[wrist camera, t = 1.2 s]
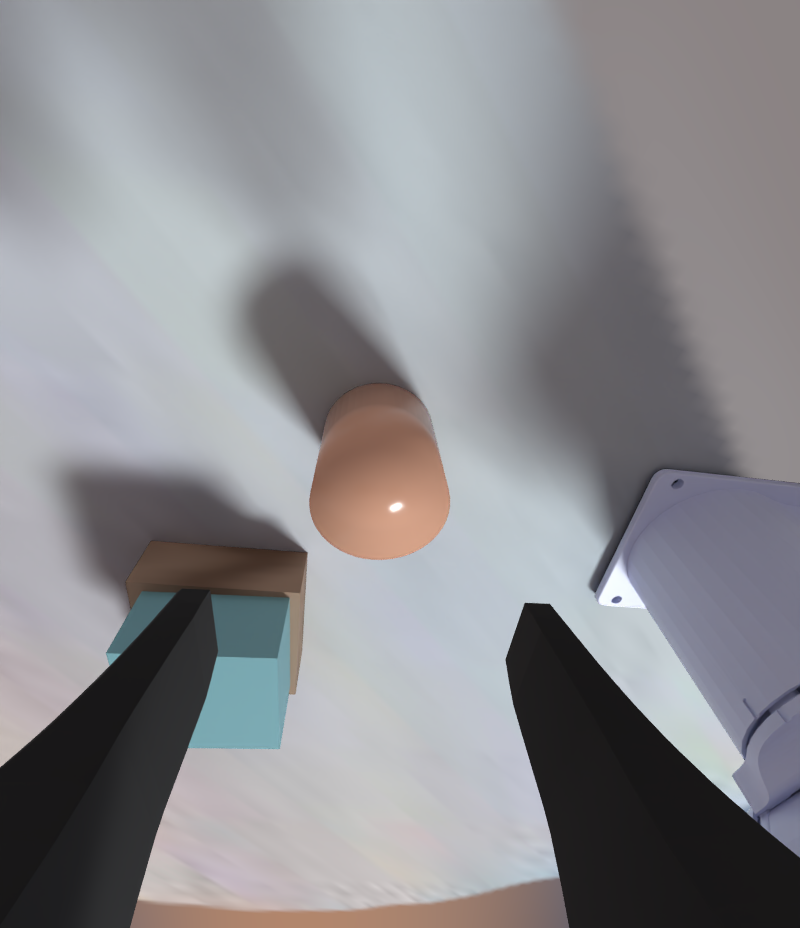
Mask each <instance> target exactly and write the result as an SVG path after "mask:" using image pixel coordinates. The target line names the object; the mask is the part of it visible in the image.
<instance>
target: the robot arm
mask: <svg viewBox="0 0 800 928" xmlns="http://www.w3.org/2000/svg"><path fill="white" fill-rule="evenodd" d="M677 479H678V481H677V482H676V483H674V484H672V483H673V482H674V481H675V480H677ZM595 598H596V600H597V602H598V603H599V604H600V605H605V606H619V607H633V608H647V610H648V611H649V613H650V615H651V616H652V618H653V619H654V621H655V622H656V624H657V625H658V627H659V629H660V630H661V632H662V633H663V635H664V636H665V638H666V639H667V641H668V642H669V644H670V646H671V647H672V649H673V650H674V652H675V653H676V655H677V656H678V658H679V659H680V661H681V663H682V664H683V666H684V667H685V669H686V670H687V672H688V673H689V675H690V676H691V678H692V680H693V681H694V683H695V684H696V686H697V687H698V689H699V690H700V692H701V694H702V695H703V697H704V698H705V700H706V701H707V703H708V704H709V706H710V707H711V709H712V711H713V712H714V714H715V715H716V717H717V718H718V720H719V721H720V723H721V724H722V726H723V728H724V729H725V731H726V732H727V734H728V735H729V737H730V738H731V740H732V741H733V743H734V745H735V746H736V748H737V749H738V751H739V752H740V754H741V755H742V757H743V759H744V760H745V761H744V763H743V764H742V766H741V767H740V768H739V769H738V770H737V771H735V772H734V773H733V775H732V777H733V778H734V780H735V782H736V783H737V785H738V787H739V788H740V790H741V792H742V793H743V795H744V796H745V798H746V800H747V801H748V803H749V805H750V806H751V807H750V808H749V810H748V811H747V813H746V812H745V811H744V810H743V809H741V808H740V807H739V806H738V805H737V804H736V803H734V802H733V801H732V800H731V799H730V798H729V797H728V796H726V795H725V794H724V793H723V792H722V791H721V790H720V789H719V788H718V787H716V786H715V785H714V784H713V783H712V782H711V781H710V780H709V779H708V778H707V777H706V776H705V775H704V774H703V773H701V772H700V771H699V770H698V769H697V768H696V767H695V766H694V765H693V764H692V763H691V762H690V761H689V760H688V759H687V758H686V757H685V756H684V755H683V754H682V753H681V752H679V751H678V750H677V749H676V748H675V747H674V746H673V745H672V744H671V743H670V742H669V741H668V740H667V739H666V738H665V737H664V736H663V735H662V733H661V732H660V731H659V730H658V729H657V728H656V727H655V726H654V725H653V724H652V723H651V722H650V721H649V720H648V719H647V718H646V717H645V715H644V714H643V713H642V712H641V711H640V710H639V709H638V708H637V707H636V706H635V705H634V704H633V703H632V701H631V700H630V699H629V698H628V697H627V696H626V695H625V694H624V693H623V691H622V690H621V689H620V688H619V687H618V686H617V684H616V683H615V682H614V681H613V680H612V679H611V678H610V676H609V675H608V674H607V673H606V672H605V671H604V669H603V668H602V667H601V666H600V665H599V663H598V662H597V661H596V660H595V659H594V658H593V656H592V655H591V654H590V653H589V651H588V650H587V649H586V648H585V647H584V645H583V644H582V643H581V642H580V640H579V639H578V638H577V637H576V636H575V634H574V633H573V632H572V631H571V629H570V628H569V627H568V626H567V624H566V623H565V622H564V621H563V620H562V618H561V617H560V616H559V615H558V613H557V612H556V611H555V610H554V609H553V607H552V606H551V605H550V604H538V603H525V604H524V607H523V610H522V613H521V616H520V619H519V622H518V624H517V627H516V630H515V633H514V636H513V639H512V642H511V645H510V648H509V651H508V654H507V657H506V665H507V671H508V678H509V684H510V689H511V694H512V700H513V705H514V708H515V712H516V715H517V719H518V722H519V726H520V729H521V733H522V736H523V739H524V743H525V746H526V750H527V753H528V756H529V760H530V763H531V766H532V770H533V773H534V776H535V780H536V783H537V787H538V790H539V793H540V797H541V800H542V803H543V807H544V810H545V814H546V818H547V822H548V826H549V830H550V833H551V838H552V843H553V848H554V853H555V857H556V862H557V867H558V872H559V877H560V881H561V886H562V891H563V896H564V901H565V907H566V912H567V918H568V923H569V928H800V483H793V482H784V481H775V480H765V479H756V478H747V477H737V476H728V475H719V474H709V473H700V472H691V471H681V470H672V469H663V470H660V471H658V472H657V473H655V474H654V476H653V477H652V479H651V481H650V483H649V485H648V487H647V489H646V491H645V493H644V495H643V497H642V499H641V501H640V503H639V505H638V507H637V509H636V511H635V513H634V515H633V517H632V519H631V521H630V524H629V526H628V528H627V530H626V532H625V534H624V536H623V538H622V540H621V542H620V544H619V546H618V548H617V550H616V552H615V554H614V556H613V558H612V560H611V562H610V564H609V566H608V568H607V570H606V572H605V575H604V577H603V579H602V581H601V583H600V585H599V587H598V589H597V591H596V593H595ZM217 654H218V645H217V638H216V630H215V622H214V615H213V607H212V600H211V592H210V590H205V589H181V590H179V591H178V592H177V593H176V594H175V595H174V596H173V597H172V599H171V600H170V601H169V602H168V603H167V604H166V605H165V607H164V608H163V609H162V610H161V611H160V612H159V613H158V614H157V616H156V617H155V618H154V619H153V620H152V621H151V622H150V623H149V625H148V626H147V627H146V628H145V629H144V630H143V631H142V632H141V633H140V634H139V636H138V637H137V638H136V639H135V640H134V641H133V642H132V643H131V644H130V645H129V646H128V647H127V648H126V649H125V650H124V651H123V653H122V654H121V655H120V656H119V657H118V658H117V659H116V660H115V661H114V662H113V663H112V664H111V665H110V666H109V667H108V668H107V669H106V670H105V671H104V672H103V673H102V674H101V675H100V676H99V677H98V678H97V679H96V680H95V681H94V682H93V683H92V684H91V685H90V686H89V687H88V688H87V689H86V690H85V691H84V692H83V693H82V694H81V695H80V696H79V697H78V698H77V699H76V700H75V701H74V702H73V703H72V704H71V705H69V706H68V707H67V708H66V709H65V710H64V711H63V712H62V713H61V714H60V715H59V716H58V717H57V718H56V719H55V720H54V721H53V722H52V723H50V724H49V725H48V726H47V727H46V728H45V729H44V730H43V731H42V732H41V733H39V734H38V735H37V736H36V737H35V738H34V739H33V740H32V741H30V742H29V743H28V744H27V745H26V746H25V747H24V748H22V749H21V750H20V751H19V752H18V753H17V754H15V755H14V756H13V757H12V758H11V759H10V760H8V761H7V762H6V763H5V764H4V765H3V766H1V767H0V928H130V925H131V921H132V918H133V914H134V910H135V907H136V903H137V899H138V896H139V892H140V889H141V885H142V882H143V878H144V875H145V871H146V868H147V864H148V861H149V857H150V854H151V850H152V847H153V843H154V840H155V836H156V833H157V830H158V827H159V824H160V821H161V818H162V815H163V812H164V810H165V807H166V804H167V802H168V799H169V796H170V794H171V791H172V788H173V786H174V783H175V780H176V778H177V775H178V772H179V770H180V767H181V764H182V762H183V759H184V756H185V754H186V751H187V748H188V746H189V743H190V740H191V738H192V735H193V732H194V730H195V727H196V724H197V722H198V719H199V716H200V714H201V711H202V708H203V705H204V703H205V700H206V697H207V693H208V689H209V686H210V682H211V678H212V674H213V670H214V666H215V662H216V658H217Z"/></svg>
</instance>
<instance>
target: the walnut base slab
mask: <svg viewBox="0 0 800 928" xmlns="http://www.w3.org/2000/svg"><path fill="white" fill-rule="evenodd" d="M306 571H307V553H305V552H292V551H278V550H265V549H252V548H239V547H226V546H213V545H199V544H186V543H173V542H160V541H151V542H150V543H149V545H148V547H147V548H146V550H145V551H144V553H143V555H142V556H141V558H140V559H139V561H138V562H137V564H136V566H135V567H134V569H133V570H132V572H131V574H130V575H129V577H128V578H127V580H126V582H125V583H126V588H127V593H128V597H129V602H130V607H131V609H132V607H133V605H134V604H135V602H136V600H137V598H138V597H139V595H140V593H141V592H142V591H148V592H171V593H177V592H178V591H179V590H181V589H205V590H210V592H211V594H216V595H239V596H262V597H285V598H290V690H289V694H295V693H296V687H297V680H298V674H299V667H300V661H301V654H302V642H303V624H304V607H305V589H306Z"/></svg>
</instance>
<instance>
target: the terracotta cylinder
mask: <svg viewBox="0 0 800 928" xmlns="http://www.w3.org/2000/svg"><path fill="white" fill-rule="evenodd" d="M309 502H310V513H311V517H312V520H313V522H314V524H315V526H316V528H317V530H318V531H319V532H320V534H321V535H322V536H323V537H324V538H325V539H326V540H327V541H328V542H329V543H330V544H331V545H333V546H334V547H336V548H337V549H339V550H341V551H343V552H345V553H347V554H350V555H353V556H355V557H360V558H364V559H372V560H385V559H393V558H398V557H402V556H406V555H408V554H411V553H413V552H415V551H417V550H419V549H421V548H422V547H424V546H425V545H427V544H428V543H429V542H430V541H432V540H433V539H434V538H435V537H436V536H437V534H438V533H439V532H440V530H441V529H442V528H443V526H444V524H445V522H446V520H447V517H448V514H449V508H450V495H449V489H448V485H447V481H446V477H445V473H444V469H443V465H442V461H441V457H440V453H439V449H438V445H437V441H436V437H435V433H434V429H433V425H432V421H431V418H430V415H429V413H428V411H427V409H426V407H425V406H424V404H423V403H422V402H421V401H420V400H419V399H418V398H417V397H416V396H415V395H413V394H412V393H410V392H409V391H407V390H405V389H403V388H401V387H398V386H395V385H391V384H384V383H373V384H366V385H362V386H359V387H356V388H354V389H352V390H350V391H348V392H347V393H345V394H344V395H343V396H341V397H340V398H339V399H338V400H337V401H336V402H335V403H334V405H333V406H332V408H331V409H330V411H329V413H328V415H327V418H326V421H325V426H324V431H323V435H322V440H321V445H320V450H319V454H318V459H317V464H316V469H315V474H314V478H313V483H312V488H311V493H310V500H309Z"/></svg>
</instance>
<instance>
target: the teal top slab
mask: <svg viewBox="0 0 800 928" xmlns="http://www.w3.org/2000/svg"><path fill="white" fill-rule="evenodd" d="M175 594H176V593H171V592H148V591H142V592H141V593H140V595H139V597H138V598H137V600H136V602H135V604H134V605H133V607H132V609H131V611H130V612H129V614H128V616H127V618H126V619H125V621H124V623H123V625H122V626H121V628H120V630H119V632H118V633H117V635H116V637H115V638H114V640H113V642H112V644H111V645H110V647H109V649H108V651H107V652H106V655H107V658H108V662H109V665H111V664H112V663H113V662H114V661H115V660H116V659H117V658H118V657H119V656H120V655H121V654H122V653H123V651H124V650H125V649H126V648H127V647H128V646H129V645H130V644H131V643H132V642H133V641H134V640H135V639H136V638H137V637H138V636H139V634H140V633H141V632H142V631H143V630H144V629H145V628H146V627H147V626H148V625H149V623H150V622H151V621H152V620H153V619H154V618H155V617H156V616H157V614H158V613H159V612H160V611H161V610H162V609H163V608H164V607H165V605H166V604H167V603H168V602H169V601H170V600H171V599H172V597H173V596H174V595H175ZM211 600H212V607H213V615H214V622H215V630H216V638H217V645H218V654H217V658H216V662H215V666H214V670H213V674H212V678H211V682H210V686H209V689H208V693H207V697H206V700H205V703H204V705H203V708H202V711H201V714H200V716H199V719H198V722H197V724H196V727H195V730H194V732H193V735H192V738H191V740H190V743H189V746H188V748H237V749H280V744H281V738H282V732H283V726H284V720H285V714H286V708H287V702H288V696H289V690H290V598H285V597H262V596H239V595H216V594H211Z"/></svg>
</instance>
